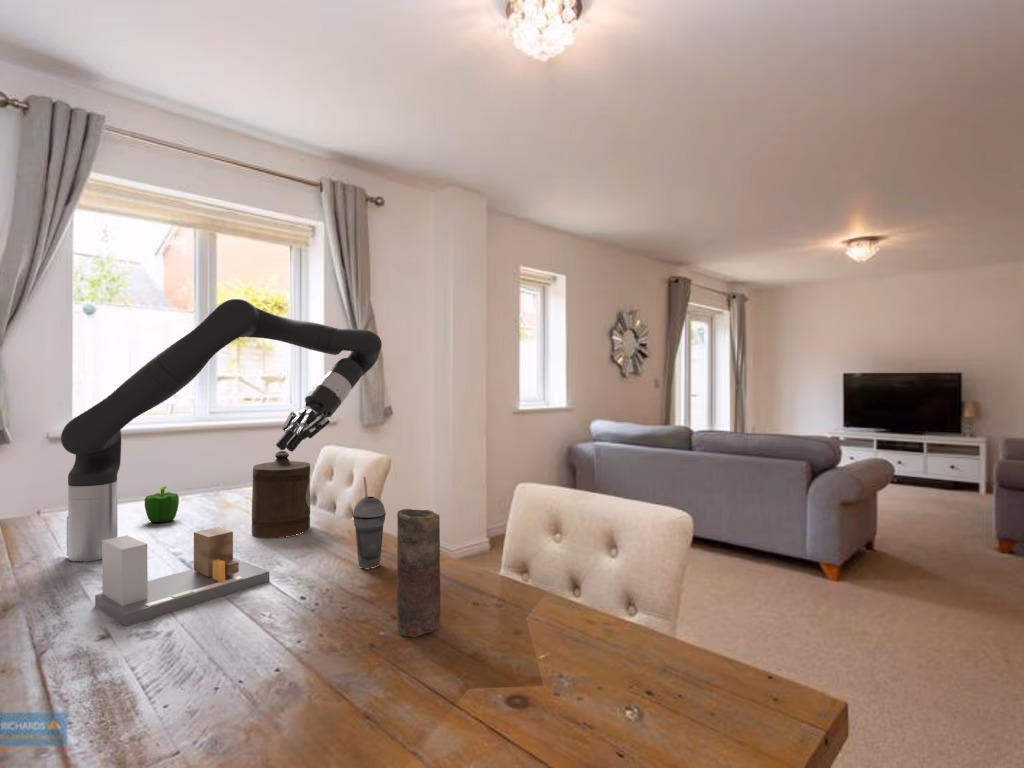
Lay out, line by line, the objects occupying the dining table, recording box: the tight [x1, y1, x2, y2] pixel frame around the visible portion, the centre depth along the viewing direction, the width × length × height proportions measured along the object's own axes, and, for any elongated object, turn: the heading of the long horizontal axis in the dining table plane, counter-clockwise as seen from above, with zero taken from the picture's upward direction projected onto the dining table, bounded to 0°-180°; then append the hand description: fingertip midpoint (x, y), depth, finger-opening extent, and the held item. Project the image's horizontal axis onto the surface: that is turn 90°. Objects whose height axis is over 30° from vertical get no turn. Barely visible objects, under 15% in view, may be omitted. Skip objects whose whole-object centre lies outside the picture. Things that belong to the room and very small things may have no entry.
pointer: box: [213, 559, 225, 582], centre depth 110 cm, size 1×4×4 cm, turn 54°
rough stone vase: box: [396, 508, 442, 638], centre depth 94 cm, size 8×7×20 cm
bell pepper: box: [144, 485, 180, 523], centre depth 162 cm, size 8×8×10 cm
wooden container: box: [251, 450, 311, 539], centre depth 153 cm, size 15×15×22 cm
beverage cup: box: [352, 476, 387, 568], centre depth 125 cm, size 7×7×20 cm
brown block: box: [193, 526, 239, 577], centre depth 114 cm, size 5×11×8 cm, turn 55°
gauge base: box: [94, 535, 270, 627], centre depth 109 cm, size 26×14×12 cm, turn 144°
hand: (284, 448), depth 128 cm, fingers open, 3 cm apart
